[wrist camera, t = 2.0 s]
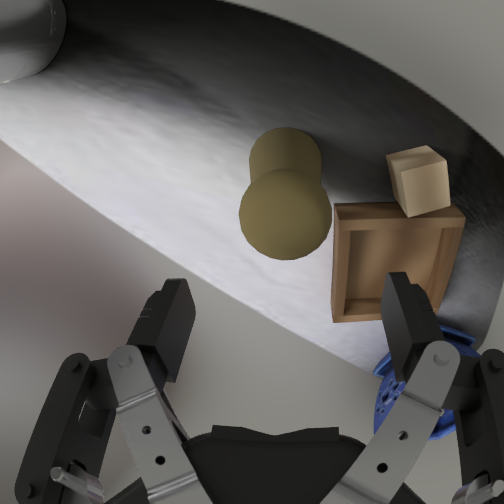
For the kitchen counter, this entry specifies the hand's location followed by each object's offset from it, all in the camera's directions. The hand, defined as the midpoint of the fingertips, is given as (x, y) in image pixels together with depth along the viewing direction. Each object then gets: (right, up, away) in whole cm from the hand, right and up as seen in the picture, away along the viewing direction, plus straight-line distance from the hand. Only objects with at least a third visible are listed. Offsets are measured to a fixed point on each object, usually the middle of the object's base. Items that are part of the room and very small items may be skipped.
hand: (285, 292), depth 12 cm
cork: (+2, +9, +13) cm, 16 cm away
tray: (+13, +1, +17) cm, 21 cm away
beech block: (+13, +9, +12) cm, 19 cm away
